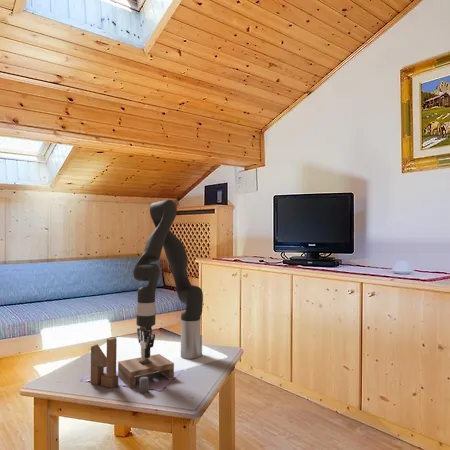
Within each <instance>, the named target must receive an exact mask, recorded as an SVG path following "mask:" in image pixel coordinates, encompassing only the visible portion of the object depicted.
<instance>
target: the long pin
mask: <svg viewBox="0 0 450 450" xmlns="http://www.w3.org/2000/svg"><path fill="white" fill-rule="evenodd" d="M145 340H147V339H145ZM144 350H145V347H144V342H143V340H142V341H141V346H140V357H141V364H142V365H146V364H149V358H145V357H144Z"/></svg>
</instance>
